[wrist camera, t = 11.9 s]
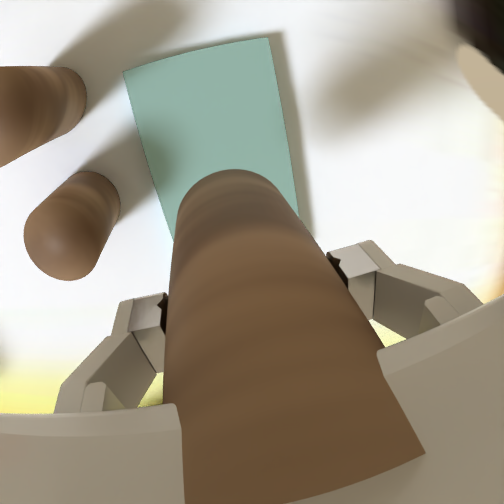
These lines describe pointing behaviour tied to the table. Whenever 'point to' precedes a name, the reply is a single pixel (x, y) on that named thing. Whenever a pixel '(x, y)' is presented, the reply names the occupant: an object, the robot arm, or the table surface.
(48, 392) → the table surface
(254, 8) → the table surface
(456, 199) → the table surface
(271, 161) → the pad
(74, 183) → the peg 6cm
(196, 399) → the peg 12cm
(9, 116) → the peg 8cm
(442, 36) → the table surface
